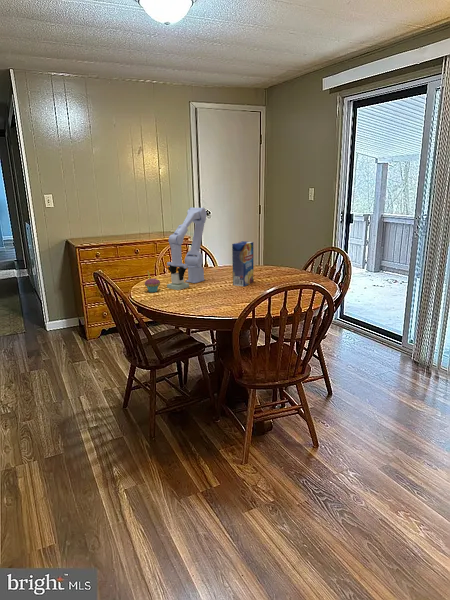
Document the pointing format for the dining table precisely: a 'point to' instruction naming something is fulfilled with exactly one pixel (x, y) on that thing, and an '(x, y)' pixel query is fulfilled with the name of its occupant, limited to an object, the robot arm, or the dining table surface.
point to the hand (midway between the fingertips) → (177, 279)
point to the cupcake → (152, 284)
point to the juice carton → (242, 263)
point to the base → (178, 286)
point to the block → (176, 278)
